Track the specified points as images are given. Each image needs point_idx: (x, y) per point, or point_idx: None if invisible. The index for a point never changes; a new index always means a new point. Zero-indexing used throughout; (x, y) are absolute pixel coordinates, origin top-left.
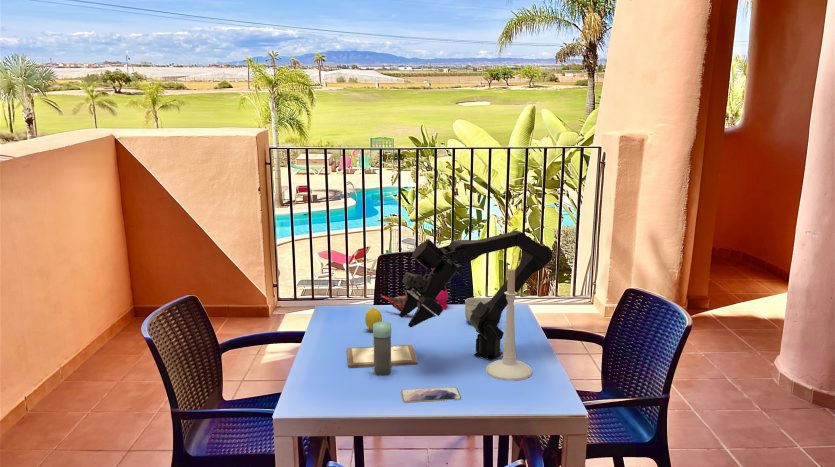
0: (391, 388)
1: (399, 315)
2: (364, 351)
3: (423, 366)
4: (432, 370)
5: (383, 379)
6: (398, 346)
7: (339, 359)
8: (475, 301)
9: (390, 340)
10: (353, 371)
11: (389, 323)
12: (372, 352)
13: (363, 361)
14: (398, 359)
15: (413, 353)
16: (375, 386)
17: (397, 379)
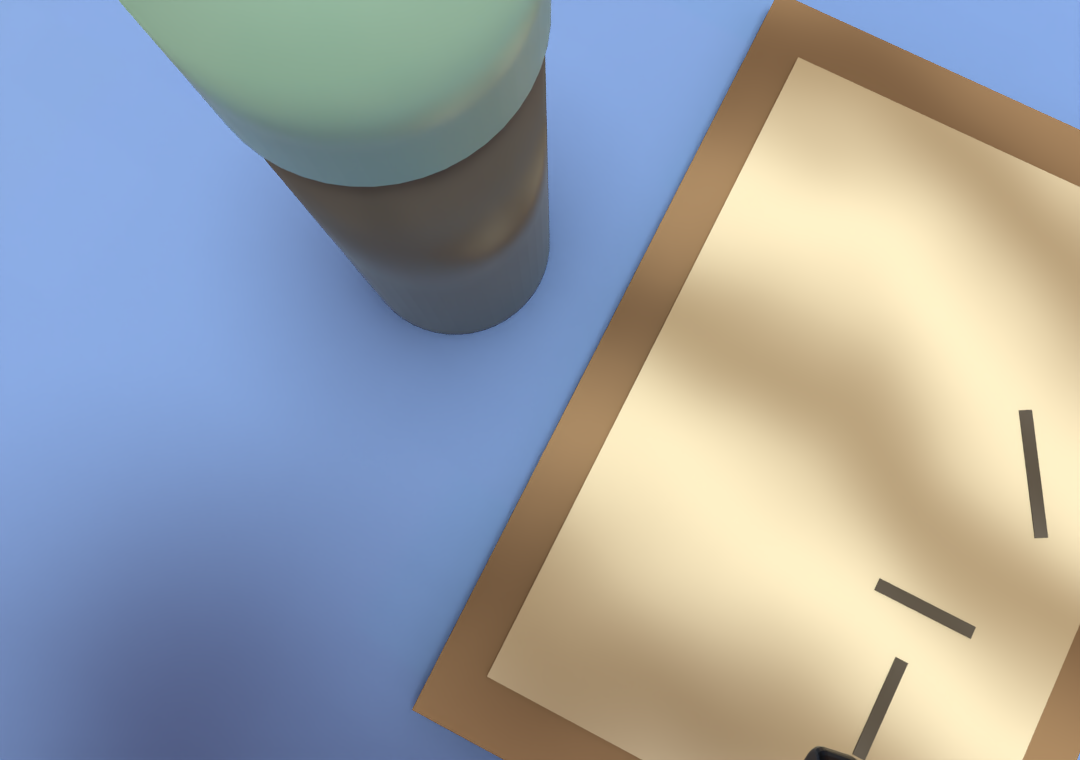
0: (65, 109)
1: (822, 750)
2: (1060, 335)
3: (329, 722)
4: (170, 738)
5: None
6: None
7: (1049, 45)
8: None
9: (264, 158)
10: (657, 12)
11: (264, 52)
12: (977, 399)
13: (769, 166)
14: (593, 539)
15: None
16: None
17: (208, 273)
